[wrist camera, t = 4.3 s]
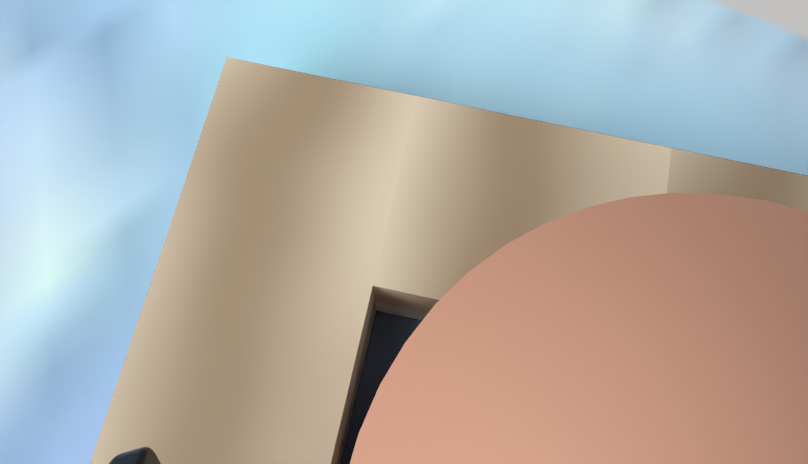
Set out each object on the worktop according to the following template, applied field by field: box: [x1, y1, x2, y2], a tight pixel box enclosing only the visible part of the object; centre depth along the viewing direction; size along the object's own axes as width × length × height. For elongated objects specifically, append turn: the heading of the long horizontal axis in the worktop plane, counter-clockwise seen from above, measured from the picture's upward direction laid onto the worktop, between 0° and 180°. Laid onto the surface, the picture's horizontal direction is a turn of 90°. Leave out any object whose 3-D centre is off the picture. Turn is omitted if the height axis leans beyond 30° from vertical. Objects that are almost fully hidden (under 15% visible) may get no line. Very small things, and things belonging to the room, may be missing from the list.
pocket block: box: [90, 57, 808, 464], centre depth 13 cm, size 14×14×3 cm
